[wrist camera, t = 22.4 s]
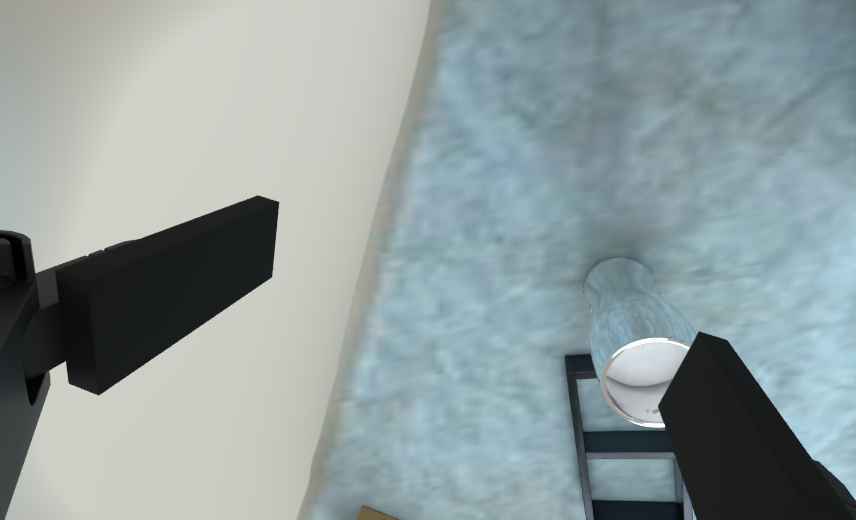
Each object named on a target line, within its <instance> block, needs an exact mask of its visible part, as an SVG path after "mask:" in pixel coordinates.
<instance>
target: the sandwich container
mask: <svg viewBox="0 0 856 520" xmlns="http://www.w3.org/2000/svg"><path fill="white" fill-rule="evenodd" d="M357 520H397V519H395V518H392V517H390V516H387V515H385V514H382V513H380V512H377V511H375V510H372V509H370V508H367V507H365V506H363V507H362V509H361V512H360V514H359V516H358V519H357Z"/></svg>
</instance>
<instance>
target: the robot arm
mask: <svg viewBox="0 0 856 520" xmlns="http://www.w3.org/2000/svg"><path fill="white" fill-rule="evenodd" d="M278 209H279V202H277V201H274V200H271V199H268V198H265V197H261V196H255V197H252V198H250V199H247V200H245V201H242V202H239V203H236V204H233V205H231V206H228V207H225V208H223V209H220V210H217V211H214V212H212V213H209V214H206V215H204V216H201V217H198V218H195V219H193V220H190V221H187V222H185V223H182V224H179V225H176V226H174V227H171V228H168V229H165V230H163V231H160V232H158V233H155V234H152V235H149V236H147V237H144V238H141V239H137V240H131V241H125V242H122V243H119V244H116V245H113V246H110V247H107V248H105V250H104V251H103V250H99V251H96V252H94V253H91V254H89V256H83V257H80V258H77V259H74V260H71V261H69V262H66V263H63V264H60V265H58V266H55V267H52V268H49V269H46V270H44V271H41V272H38V273H35V268H34V261H33V255H32V247H31V240H30V238H28V237H27V236H25V235H24V234H20V233H17V232H13V231H4V230H0V520H5V516H6V514H7V511H8V508H9V505H10V502H11V499H12V496H13V493H14V490H15V487H16V484H17V482H18V478H19V476H20V472H21V469H22V466H23V464H24V461H25V458H26V455H27V452H28V449H29V446H30V443H31V440H32V437H33V434H34V431H35V429H36V426H37V423H38V419H39V417H40V414H41V411H42V408H43V405H44V402H45V399H46V396H47V393H48V390H49V387H50V373H49V370H51V369H53V368H54V367H56V366H58V365H60V364H61V363H63V362H65V361H66V365H67V373H68V382H69V384H71V385H74V386H76V387H79V388H81V389H84V390H87V391H89V392H91V393H94V394H97V395H100V394H102V393H103V392H105V391H106V390H108V389H109V388H110V387H112V386H113V385H115V384H116V383H118V382H119V381H121V380H122V379H124V378H125V377H127V376H128V375H129V374H131V373H132V372H134V371H135V370H137V369H138V368H140V367H141V366H143V365H144V364H145V363H147V362H148V361H150V360H151V359H153V358H154V357H156V356H157V355H159V354H160V353H162V352H163V351H165V350H166V349H167V348H169V347H171V346H172V345H173V344H175V343H176V342H178V341H179V340H181V339H182V338H184V337H185V336H186V335H188V334H190V333H191V332H192V331H194V330H195V329H197V328H198V327H200V326H201V325H203V324H204V323H205V322H207V321H209V320H210V319H211V318H213V317H214V316H216V315H217V314H219V313H220V312H222V311H223V310H225V309H226V308H228V307H229V306H230V305H232V304H233V303H235V302H236V301H238V300H239V299H241V298H242V297H244V296H245V295H247V294H248V293H249V292H251V291H252V290H254V289H255V288H257V287H258V286H260V285H261V284H263V283H264V282H266V281H267V280H269V279H270V278H271V277H272V273H273V272H272V271H273V262H274V252H275V251H274V250H275V240H276V230H277V219H278ZM658 409H659V412H660V415H661V417H662V420H663V423H664V426H665V429H666V432H667V435H668V438H669V441H670V443H671V446H672V449H673V452H674V455H675V458H676V461H677V464H678V467H679V469H680V472H681V475H682V478H683V481H684V484H685V487H686V490H687V493H688V496H689V498H690V501H691V504H692V507H693V510H694V513H695V516H696V519H697V520H856V500H855V499H854V498H853V496H852V495H851V494H850V492H849V491H848V490H847V488H846V487H845V486H844V484H843V483H841V482H840V481H839V480H838V479H837V478H836V477H835V476H834V475H833V474H832V473H831V472H829V471H828V470H827V469H826V468H825V467H824V466H823V465H822V464H821V463H820V462H818V461H815V460H812V458H811V457H810V455H809V454H808V453H807V451H806V450H805V448H804V447H803V446H802V444H801V443H800V441H799V440H798V439H797V437H796V436H795V434H794V433H793V432H792V430H791V429H790V427H789V426H788V425H787V423H786V422H785V420H784V419H783V418H782V416H781V415H780V413H779V412H778V411H777V409H776V408H775V406H774V405H773V404H772V402H771V401H770V399H769V398H768V397H767V395H766V394H765V392H764V391H763V390H762V388H761V387H760V385H759V384H758V383H757V381H756V380H755V378H754V377H753V376H752V374H751V373H750V371H749V370H748V369H747V367H746V366H745V364H744V363H743V362H742V360H741V359H740V357H739V356H738V355H737V353H736V352H735V350H734V349H733V348H732V346H731V345H730V343H729V342H728V341H727V340H725V339H722V338H719V337H715V336H712V335H709V334H706V333H702V332H698V334H697V336H696V338H695V339H694V341H693V343H692V345H691V347H690V348H689V350H688V352H687V354H686V356H685V358H684V359H683V361H682V363H681V365H680V367H679V368H678V370H677V372H676V374H675V376H674V377H673V379H672V381H671V383H670V385H669V386H668V388H667V390H666V392H665V394H664V396H663V397H662V399H661V401H660V403H659V405H658Z"/></svg>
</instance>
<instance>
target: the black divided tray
mask: <svg viewBox="0 0 856 520" xmlns="http://www.w3.org/2000/svg"><path fill="white" fill-rule="evenodd" d="M565 365H566V375H567V382H568V389H569V397H570V404H571V411H572V419H573V426H574V433H575V441H576V448H577V455H578V463H579V470H580V477H581V485H582V492H583V499H584V507H585V514H586V520H693V515H692V504H691V501H690V498H689V496H688V493H687V490H686V487H685V484H684V481H683V478H682V475H681V472H680V469H679V467H678V464H677V461H676V458H675V455H674V452H673V449H672V446H671V443H670V441H669V438H668V435H667V432H666V431H625V432H583V429H582V422H581V414H580V406H579V398H578V391H577V383H576V379H592V378H597V376H596V373H595V370H594V367H593V363H592V359H591V355H590V354H589V355H574V356H573V355H571V356H565ZM586 459H674V474H675V491H676V503H670V502H629V501H592V499H591V491H590V483H589V476H588V468H587V460H586Z"/></svg>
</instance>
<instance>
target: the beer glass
mask: <svg viewBox="0 0 856 520" xmlns="http://www.w3.org/2000/svg"><path fill="white" fill-rule="evenodd" d="M583 293H584V297H585V300H586V302H587V304H588V306H589V307H590V308H591V310H592V314H591V319H590V326H589V348H590V355H591V359H592V363H593V367H594V370H595V373H596V376H597V379H598V382H599V384H600V388H601V392H602V395H603V397H604V399H605V401H606V403H607V404H608V406H609V407H610V408H611V409H612V410H613V411H614V412H615V413H616V414H617V415H619V416H620V417H622V418H623V419H625V420H627V421H629V422H632V423H634V424H637V425H641V426H646V427H665V426H664V423H663V420H662V417H661V415H660V412H659V409H658V405H659V403H660V401H661V399H662V397H663V396H664V394H665V392H666V390H667V388H668V386H669V385H670V383H671V381H672V379H673V377H674V376H675V374H676V372H677V370H678V368H679V367H680V365H681V363H682V361H683V359H684V358H685V356H686V354H687V352H688V350H689V348H690V347H691V345H692V343H693V341H694V339H695V338H696V336H697V334H696V332H695V331H694V329H693V327H692V326H691V324H690V323H689V322H688V320H687V319H686V318H685V316H684V315H683V314H682V313H681V312H680V311H679V310H678V309H677V308H676V307H675V306H674V305H673V304H672V303H671V302H670V301H668V300H667V299H666V298H665V297H663V296H662V295H661V294H659V293H658V292H657V291H656V289H655V282H654V279H653V276H652V274H651V273H650V271H649V270H648V269H647V268H646V267H645V266H644V265H643V264H641V263H640V262H638V261H636V260H633V259H630V258H625V257H615V258H610V259H606V260H604V261H602V262H600V263H598V264H597V265H595V266H594V267H593V268H592V269H591V270H590V271H589V273H588V274H587V276H586V278H585V281H584V285H583Z"/></svg>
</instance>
